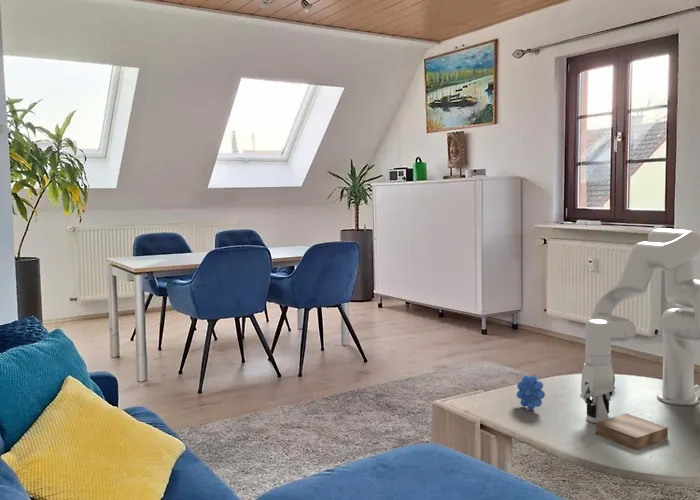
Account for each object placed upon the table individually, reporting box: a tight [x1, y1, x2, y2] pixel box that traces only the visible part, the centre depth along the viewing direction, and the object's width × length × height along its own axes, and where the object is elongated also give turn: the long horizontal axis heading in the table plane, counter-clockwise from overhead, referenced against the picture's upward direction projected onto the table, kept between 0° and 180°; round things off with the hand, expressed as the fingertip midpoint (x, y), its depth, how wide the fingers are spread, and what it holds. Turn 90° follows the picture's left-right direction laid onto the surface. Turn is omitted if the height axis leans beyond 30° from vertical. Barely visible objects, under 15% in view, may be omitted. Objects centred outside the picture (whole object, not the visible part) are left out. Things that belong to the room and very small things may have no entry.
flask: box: [585, 395, 611, 424], centre depth 207 cm, size 7×7×10 cm
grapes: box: [516, 375, 546, 411], centre depth 218 cm, size 12×7×12 cm, turn 32°
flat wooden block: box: [595, 413, 669, 451], centre depth 194 cm, size 14×14×4 cm
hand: (597, 413), depth 207 cm, fingers closed on flask, 5 cm apart
